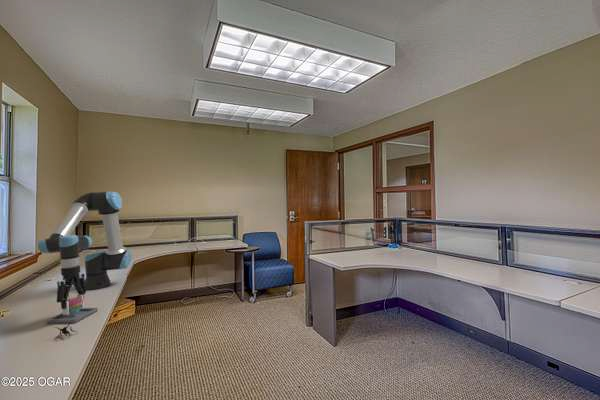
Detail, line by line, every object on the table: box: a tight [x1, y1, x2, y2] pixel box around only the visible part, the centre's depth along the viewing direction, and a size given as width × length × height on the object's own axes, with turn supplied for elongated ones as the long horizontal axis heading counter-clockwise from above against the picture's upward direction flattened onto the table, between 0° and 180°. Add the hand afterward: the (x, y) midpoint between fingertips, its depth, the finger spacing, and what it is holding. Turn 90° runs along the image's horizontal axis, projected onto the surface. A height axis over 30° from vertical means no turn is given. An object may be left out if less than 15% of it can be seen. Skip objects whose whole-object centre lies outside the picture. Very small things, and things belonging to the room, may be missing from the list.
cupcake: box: [67, 292, 84, 314], centre depth 147 cm, size 9×8×12 cm
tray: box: [47, 307, 99, 324], centre depth 147 cm, size 14×14×2 cm
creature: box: [54, 322, 79, 341], centre depth 126 cm, size 8×5×8 cm
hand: (73, 310), depth 147 cm, fingers closed on cupcake, 8 cm apart
